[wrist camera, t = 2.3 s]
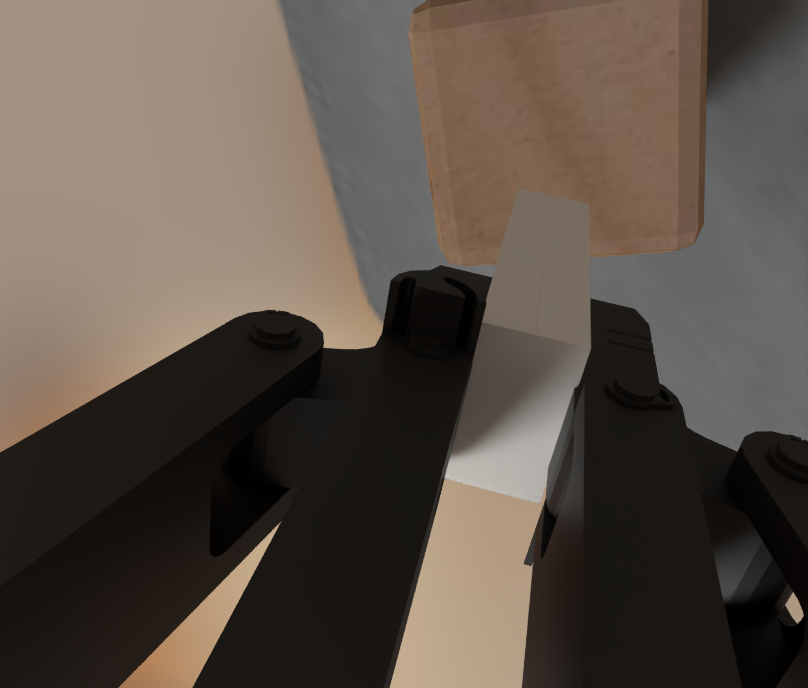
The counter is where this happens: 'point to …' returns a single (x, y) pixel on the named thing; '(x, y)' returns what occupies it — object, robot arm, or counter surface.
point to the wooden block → (564, 117)
